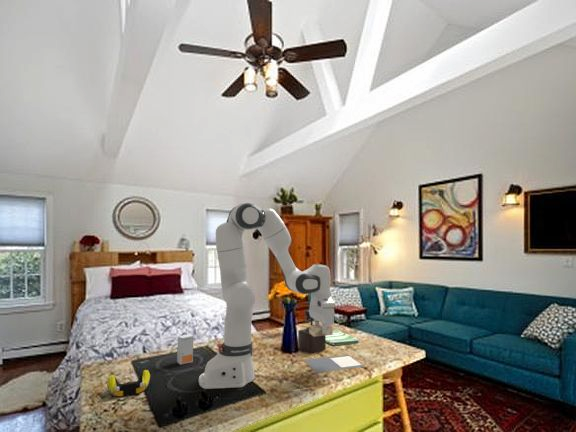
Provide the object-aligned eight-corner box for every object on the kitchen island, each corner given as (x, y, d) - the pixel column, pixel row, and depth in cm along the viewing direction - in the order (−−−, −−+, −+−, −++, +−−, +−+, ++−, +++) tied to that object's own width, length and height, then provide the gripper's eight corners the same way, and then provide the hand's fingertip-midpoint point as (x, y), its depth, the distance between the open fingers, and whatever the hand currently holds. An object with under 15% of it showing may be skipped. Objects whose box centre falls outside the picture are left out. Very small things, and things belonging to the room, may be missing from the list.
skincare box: (180, 365, 158) (181, 338, 158) (176, 362, 161) (177, 336, 162) (193, 362, 161) (193, 335, 162) (189, 359, 165) (189, 333, 165)
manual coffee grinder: (327, 350, 178) (327, 314, 179) (310, 354, 172) (309, 317, 173) (308, 342, 191) (308, 308, 192) (292, 345, 185) (292, 311, 186)
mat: (316, 374, 148) (316, 372, 148) (303, 361, 163) (303, 359, 163) (365, 367, 155) (365, 366, 155) (348, 355, 170) (348, 354, 170)
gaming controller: (107, 389, 133) (106, 400, 124) (107, 374, 134) (106, 384, 125) (149, 382, 140) (151, 392, 131) (149, 368, 140) (151, 377, 131)
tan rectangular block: (313, 336, 154) (313, 328, 154) (309, 333, 159) (309, 324, 159) (332, 334, 156) (332, 326, 156) (327, 331, 162) (327, 323, 162)
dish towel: (338, 332, 212) (338, 328, 213) (360, 343, 191) (360, 338, 191) (312, 335, 206) (312, 330, 206) (331, 347, 184) (331, 342, 184)
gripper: (306, 296, 167) (306, 326, 167) (323, 304, 148) (323, 338, 147) (318, 296, 169) (318, 325, 168) (336, 303, 150) (336, 336, 149)
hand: (320, 331), depth 158 cm, fingers closed on tan rectangular block, 5 cm apart
